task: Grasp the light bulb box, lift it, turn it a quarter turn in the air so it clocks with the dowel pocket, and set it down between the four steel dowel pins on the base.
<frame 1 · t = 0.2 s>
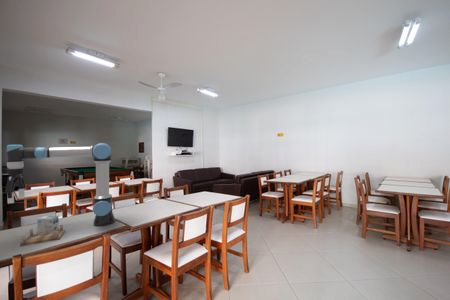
hand: (16, 200, 134), 27 cm above the table, fingers open, 13 cm apart
dowel base: (44, 238, 140), on the table
light bulb box: (48, 231, 153), on the table
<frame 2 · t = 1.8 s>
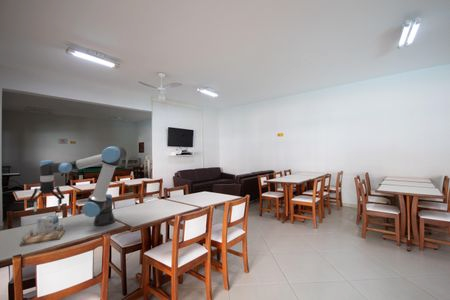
hand: (47, 209, 152), 16 cm above the table, fingers open, 13 cm apart
nothing on the table moved.
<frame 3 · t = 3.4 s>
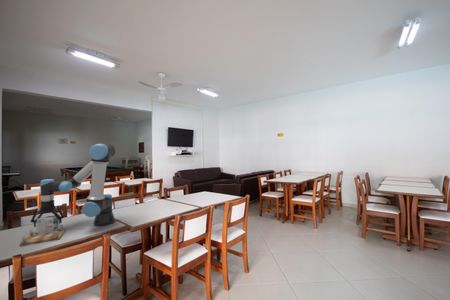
hand: (48, 229, 153), 1 cm above the table, fingers closed on light bulb box, 12 cm apart
light bulb box: (48, 231, 153), on the table, touching gripper
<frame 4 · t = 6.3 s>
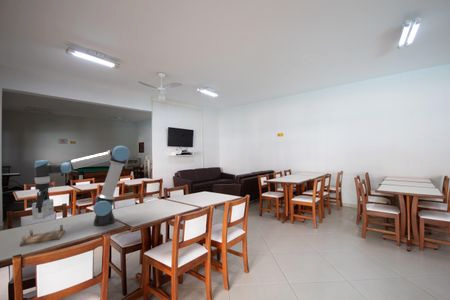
hand: (43, 214, 140), 16 cm above the table, fingers closed on light bulb box, 12 cm apart
light bulb box: (43, 217, 140), point 15 cm above the table, touching gripper
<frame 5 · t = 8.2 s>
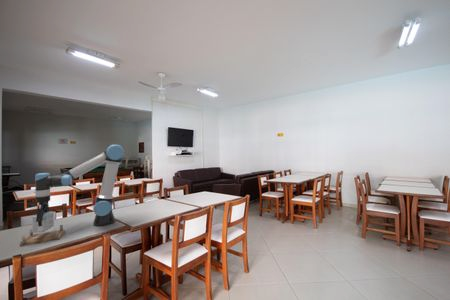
hand: (43, 227, 140), 7 cm above the table, fingers closed on light bulb box, 12 cm apart
light bulb box: (43, 229, 140), point 6 cm above the table, touching gripper
when the fingers open (4 cm above the table, at t = 9.5 s): light bulb box drops 1 cm, resting on dowel base.
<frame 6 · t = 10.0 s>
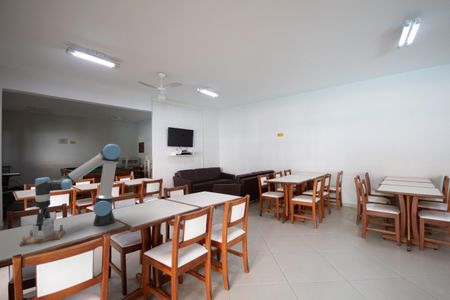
hand: (43, 231, 140), 5 cm above the table, fingers open, 13 cm apart
light bulb box: (44, 236, 140), point 1 cm above the table, touching dowel base
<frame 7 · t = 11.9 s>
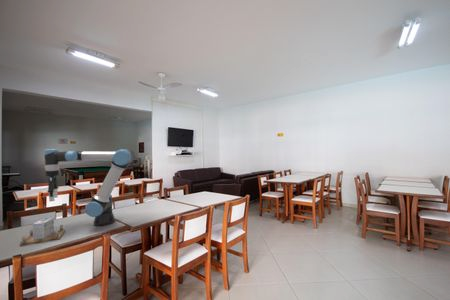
hand: (53, 199, 150), 24 cm above the table, fingers open, 13 cm apart
nothing on the table moved.
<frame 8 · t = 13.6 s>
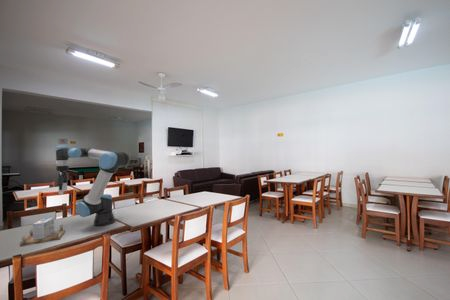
hand: (63, 192, 162), 27 cm above the table, fingers open, 13 cm apart
nothing on the table moved.
at the end: light bulb box inside the target area on the dowel base (0.0 cm from its centre), point 1.3 cm above the dowel base's base; light bulb box tilted 0°; the gripper is holding nothing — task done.
